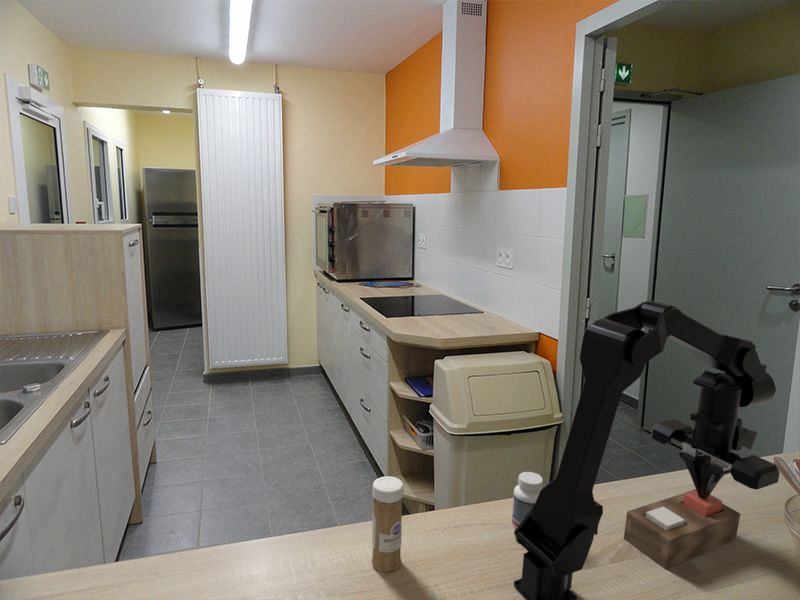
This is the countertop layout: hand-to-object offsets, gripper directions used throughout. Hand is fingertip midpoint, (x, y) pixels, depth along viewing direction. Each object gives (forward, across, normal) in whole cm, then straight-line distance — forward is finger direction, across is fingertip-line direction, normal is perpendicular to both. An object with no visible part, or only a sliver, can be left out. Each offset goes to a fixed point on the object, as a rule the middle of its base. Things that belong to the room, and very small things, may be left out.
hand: (703, 497), depth 91 cm
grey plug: (+6, 0, +9) cm, 11 cm away
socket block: (+7, 0, +4) cm, 8 cm away
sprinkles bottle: (+7, +14, +52) cm, 54 cm away
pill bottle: (+7, +14, +26) cm, 30 cm away
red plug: (+5, 0, 0) cm, 5 cm away
